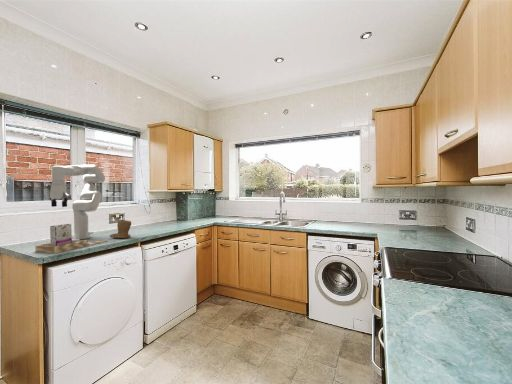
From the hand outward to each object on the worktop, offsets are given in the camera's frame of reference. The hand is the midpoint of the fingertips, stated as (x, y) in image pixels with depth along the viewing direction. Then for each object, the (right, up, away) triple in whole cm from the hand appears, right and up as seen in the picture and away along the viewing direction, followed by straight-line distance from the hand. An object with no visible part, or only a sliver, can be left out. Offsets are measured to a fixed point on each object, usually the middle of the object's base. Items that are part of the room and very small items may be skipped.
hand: (59, 206), depth 176 cm
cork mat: (+22, -28, +6) cm, 36 cm away
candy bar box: (+11, -28, -11) cm, 32 cm away
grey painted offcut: (+13, -26, -3) cm, 29 cm away
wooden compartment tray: (+11, -28, -10) cm, 32 cm away
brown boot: (+31, -28, +27) cm, 49 cm away
